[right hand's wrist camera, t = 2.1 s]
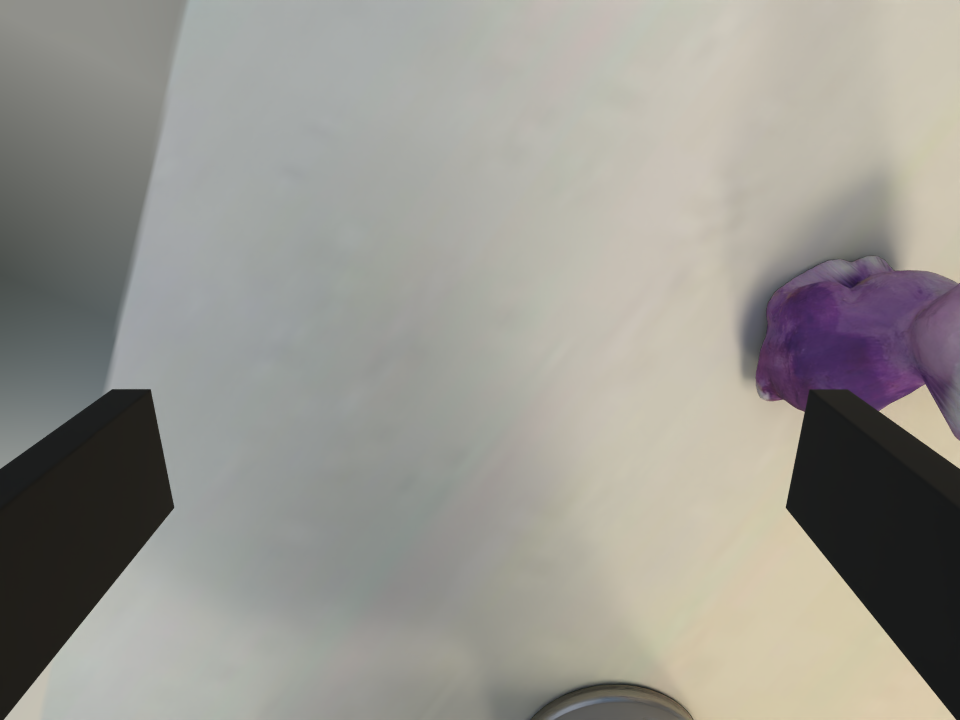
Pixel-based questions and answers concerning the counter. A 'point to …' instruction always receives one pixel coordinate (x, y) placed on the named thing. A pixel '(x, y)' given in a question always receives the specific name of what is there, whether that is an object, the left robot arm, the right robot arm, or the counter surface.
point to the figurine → (863, 336)
